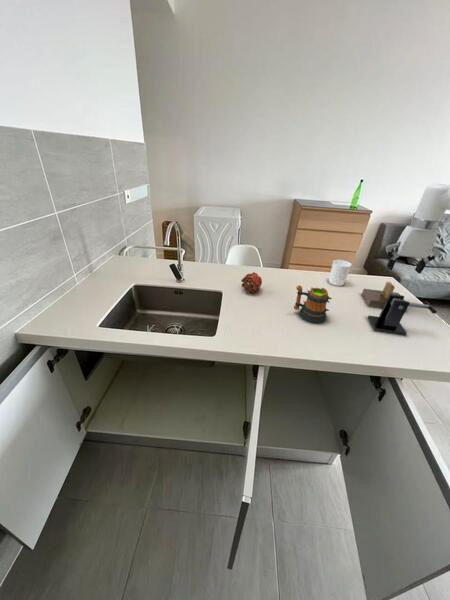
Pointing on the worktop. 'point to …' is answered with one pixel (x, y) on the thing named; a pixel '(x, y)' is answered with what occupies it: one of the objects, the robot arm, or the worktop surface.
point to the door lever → (418, 305)
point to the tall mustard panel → (387, 289)
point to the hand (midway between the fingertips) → (403, 270)
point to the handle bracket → (390, 316)
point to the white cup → (339, 272)
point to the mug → (313, 304)
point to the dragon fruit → (252, 282)
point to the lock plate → (375, 298)
